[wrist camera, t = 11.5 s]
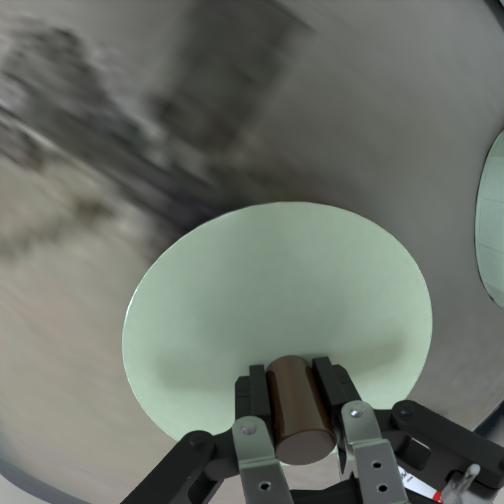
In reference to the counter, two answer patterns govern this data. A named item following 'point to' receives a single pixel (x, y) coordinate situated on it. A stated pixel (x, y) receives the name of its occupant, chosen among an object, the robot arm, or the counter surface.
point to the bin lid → (276, 321)
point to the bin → (491, 222)
